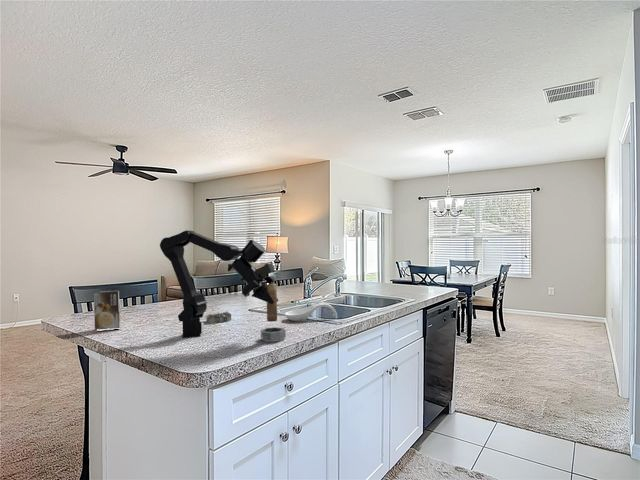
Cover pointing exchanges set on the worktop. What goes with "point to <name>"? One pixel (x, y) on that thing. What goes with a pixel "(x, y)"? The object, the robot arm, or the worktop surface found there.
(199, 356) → the worktop surface
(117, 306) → the coffee box
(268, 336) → the ring
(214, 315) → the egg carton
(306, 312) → the spoon rest
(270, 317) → the dowel
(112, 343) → the worktop surface
